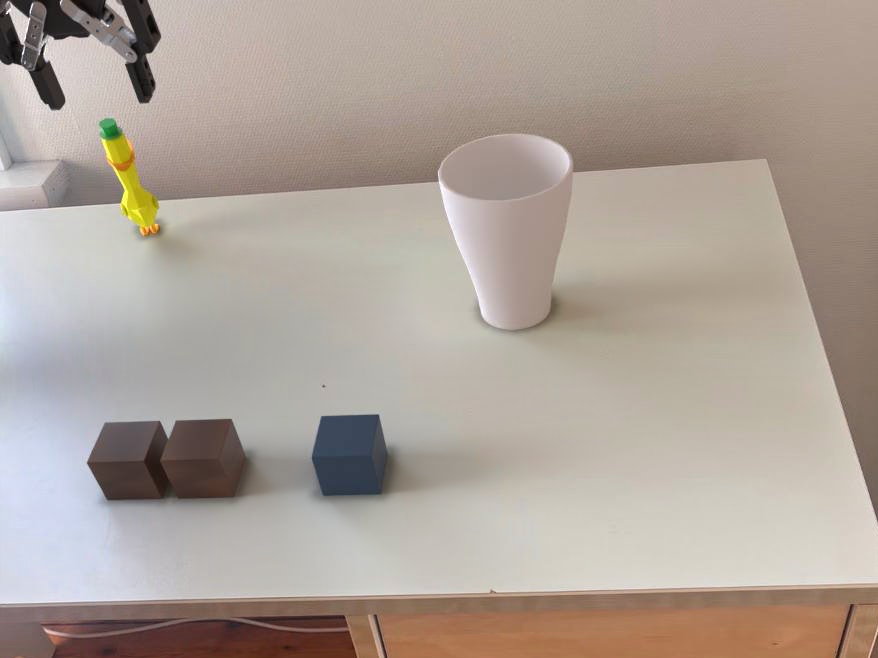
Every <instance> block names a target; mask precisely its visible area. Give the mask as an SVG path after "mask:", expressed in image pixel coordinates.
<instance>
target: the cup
mask: <svg viewBox="0 0 878 658" xmlns="http://www.w3.org/2000/svg"><path fill="white" fill-rule="evenodd" d="M572 157H573V156H572V154H571V153H570V152H569V150H567V148H565V146H564V145H563V144H561V143H558V142H557V141H555V140H554V139H550V138H547V137H544V136H541V135H535V134H529V133H528V134H527V133H502V134H494V135H489V136H485V137H481V138H476V139H473V140H472V141H470V142H467V143H464V144H462V145H460V146H459V147H457V148H455V149H454V150H452V151H451V152H449V154H448V155H447V156H445V158H443V160H442V161H441V164H440V166H439V168H438V171H437V177H438V183H439V188H440V192H441V198H442V202H443V207H444V211H445V214H446V216H447V219H448V222H449V226H450V228H451V231H452V234H453V237H454V241H455V243H456V245H457V248H458V250H459V253H460V254H461V257H462V259H463V261H464V263H465V265H466V268H467V270H468V271H467V272H469V276H470V279H471V281H472V284H473V287H474V289H475V292H476V295H477V301H478V304H479V305H478V306H479V310H480V314H481V316H482V318H483V320H484V321H485V322H486V323H488V325H490V326H493V327H495V328H497V329H501V330H507V331H511V330H512V331H515V330H516V331H517V330H524V329H528V328H531V327H534V326H536V325H538V324H540V323H542V322H543V321H544V320H545V319H546V318H547V316H548V315H549V314H550V312H551V311H550V310H551V307H552V294H553V283H554V279H555V278H554V277H555V272H556V267H557V262H558V258H559V254H560V252H561V247H562V244H563V239H564V236H565V231H566V228H567V227H566V226H567V222H568V216H569V209H570V204H571V200H572V199H571V198H572V193H573V179H574V178H573V177H574V176H573V175H574V161H573V158H572Z"/></svg>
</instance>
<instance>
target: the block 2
mask: <svg viewBox="0 0 878 658" xmlns="http://www.w3.org/2000/svg"><path fill="white" fill-rule="evenodd" d="M246 460H247V455H246V452H245V450H244V447H243V444H242V442H241V438H240V437H239V433H238V432H237V429H236V425H235V424H234V421H233V419H232V418H209V419H208V418H207V419H205V418H204V419H178V420H177V419H176V420H175V422H174V424H173V427H172V429H171V431H170V434H169V437H168V442H167V445H166V447H165V450H164V452H163V455H162V458H161V460H160V462H161V464H162V466H163V468H164V470H165V472H166V474H167V476H168V478H169V482H170V485H171V487H172V489H173V491H174V494H175V496H176V497H177V499H179V500H182V499H183V500H187V499H229V498H235V496H236V493H237V489H238V486H239V482H240V480H241V476H242V474H243V470H244V466H245V463H246Z"/></svg>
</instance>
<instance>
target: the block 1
mask: <svg viewBox="0 0 878 658" xmlns="http://www.w3.org/2000/svg"><path fill="white" fill-rule="evenodd" d="M168 439H169V437H168V435H167V433H166V430H165V428H164V426H163V424H162V422H161V421H160V420H138V421H134V420H133V421H106V422H104V423H103V425H102V427H101V430H100V432H99V434H98V437H97V438H96V441H95V443H94V445H93V448H92V450H91V452H90V454H89V456H88V458H87V461H86V465H87V466H88V468H89V470H90V472H91V473H92V476H93V478H94V479H95V481H96V483H97V484H98V486H99V488H100V490H101V491H102V493H103V495H104V497H105V499H106V500H107V501H134V500H136V501H139V500H163V499H164V496H165V493H166V491H167V488H168V485H169V482H170V481H169V478H168V476H167V474H166V472H165V470H164V468H163V466H162V464H161V462H160V460H161V458H162V455H163V452H164V450H165V447H166V445H167V442H168Z"/></svg>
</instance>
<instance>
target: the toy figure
mask: <svg viewBox="0 0 878 658" xmlns="http://www.w3.org/2000/svg"><path fill="white" fill-rule="evenodd" d="M98 127H99V129H100V131H99V137H100V139H101V143H102V145H103V147H104V150H105V156H106V161H107V162H108V164H109V165H110V166H111V167H112V168H113V170H114V172H115V174H116V176H117V177H118V179H119V182H120V183H121V185H122V187H123V189H124V191H123V195H122V199H121V203H120V204H119V207H120V209H121V212H122V215H123V216H124V217H126V218H128V219H129V220H131V221H132V222H133V223H135V224H136V225H137V226H138V227H140V228H139V231H140V234H142V235H143V236H144V237H145V236H148V235H149V234H150V231H151V233H152V234H153V235H154V234H158V232H159V230H160V226H159V224H157V223H155V221H156V217H157V213H158V210H159V209H160V205H159V202H158V199H157V198H158V197H157V196H156V195H153V194H152V193H150V192H149V191H148V190H147V189H145V188H144V187H143V186H141V183H140V179H139V175H138V171H137V167H136V163H135V160H136V154H135V150H134V146H133V144H132V142H131V141H130V140H129V139H128V138H126V137H127V136H126V135H125V132H123V128H122V127H121V126H119V125H117V120H116V119H114V118H113V117H106V118H104V119H101V120H100V121H99V123H98Z"/></svg>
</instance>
